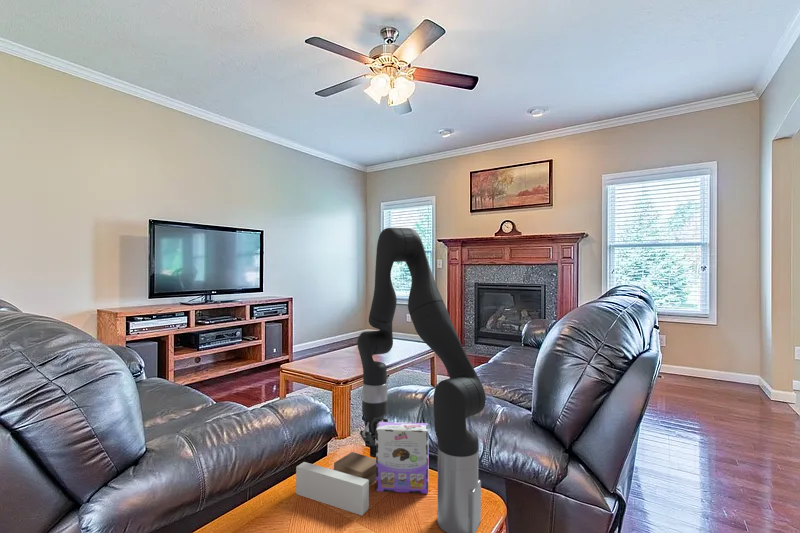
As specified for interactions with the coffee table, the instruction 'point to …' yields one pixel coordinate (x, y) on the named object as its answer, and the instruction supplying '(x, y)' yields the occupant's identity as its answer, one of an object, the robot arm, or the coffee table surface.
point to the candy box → (402, 457)
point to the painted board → (333, 487)
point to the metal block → (357, 466)
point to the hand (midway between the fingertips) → (374, 456)
